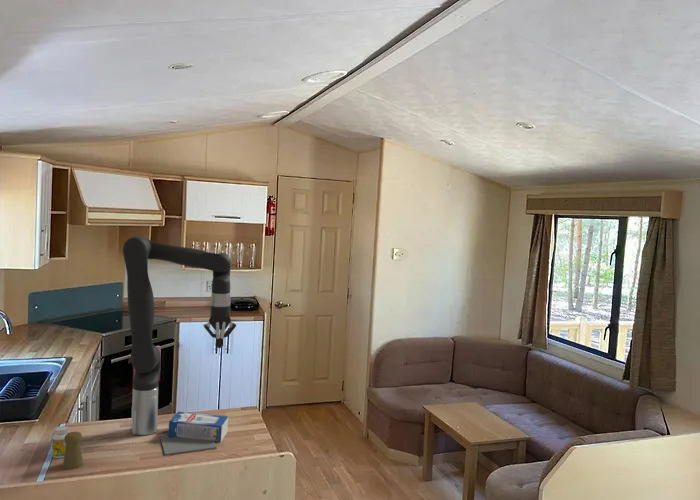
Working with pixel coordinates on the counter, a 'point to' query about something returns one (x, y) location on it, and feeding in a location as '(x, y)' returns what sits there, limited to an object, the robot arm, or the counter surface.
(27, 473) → the counter surface
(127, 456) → the counter surface
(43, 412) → the counter surface
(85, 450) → the counter surface
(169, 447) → the mat
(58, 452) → the supplement bottle
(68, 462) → the cork
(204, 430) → the milk carton
